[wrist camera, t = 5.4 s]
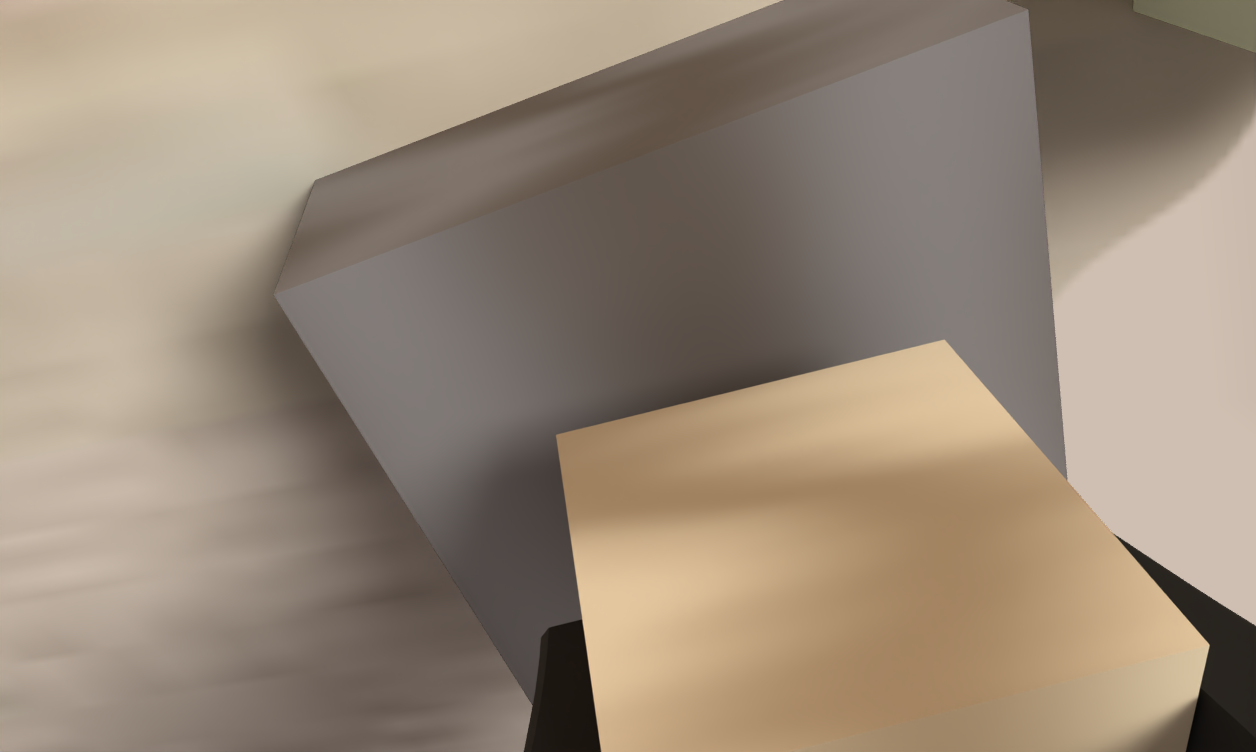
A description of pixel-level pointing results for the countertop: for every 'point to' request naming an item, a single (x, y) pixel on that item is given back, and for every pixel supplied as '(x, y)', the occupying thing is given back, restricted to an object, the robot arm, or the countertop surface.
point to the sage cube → (1208, 18)
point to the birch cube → (862, 577)
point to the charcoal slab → (676, 261)
